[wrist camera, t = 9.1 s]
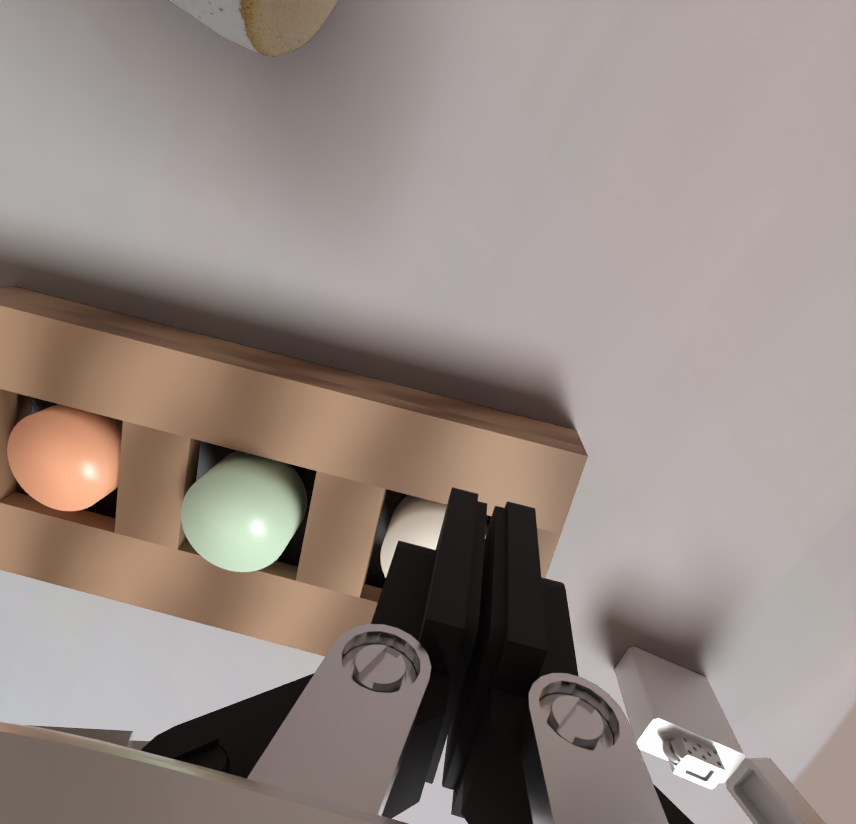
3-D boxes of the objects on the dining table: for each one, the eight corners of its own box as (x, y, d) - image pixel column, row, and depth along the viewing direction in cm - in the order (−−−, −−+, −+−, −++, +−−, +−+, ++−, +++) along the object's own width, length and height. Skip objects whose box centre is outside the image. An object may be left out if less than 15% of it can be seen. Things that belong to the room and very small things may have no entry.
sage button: (315, 464, 25) (297, 487, 22) (298, 552, 26) (279, 584, 24) (214, 437, 25) (186, 459, 22) (202, 527, 26) (175, 556, 24)
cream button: (499, 501, 25) (500, 528, 23) (473, 585, 27) (472, 618, 25) (401, 475, 26) (392, 500, 23) (380, 561, 27) (370, 592, 25)
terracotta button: (145, 409, 26) (112, 427, 23) (137, 498, 27) (105, 522, 25) (49, 385, 26) (7, 400, 24) (47, 474, 27) (6, 496, 25)
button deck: (576, 430, 25) (587, 456, 22) (500, 655, 28) (501, 703, 26) (11, 285, 25) (-49, 292, 22) (9, 526, 29) (-43, 558, 26)
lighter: (612, 671, 28) (658, 835, 21) (630, 644, 28) (684, 802, 20) (745, 728, 28) (839, 911, 21) (765, 703, 28) (870, 880, 20)
